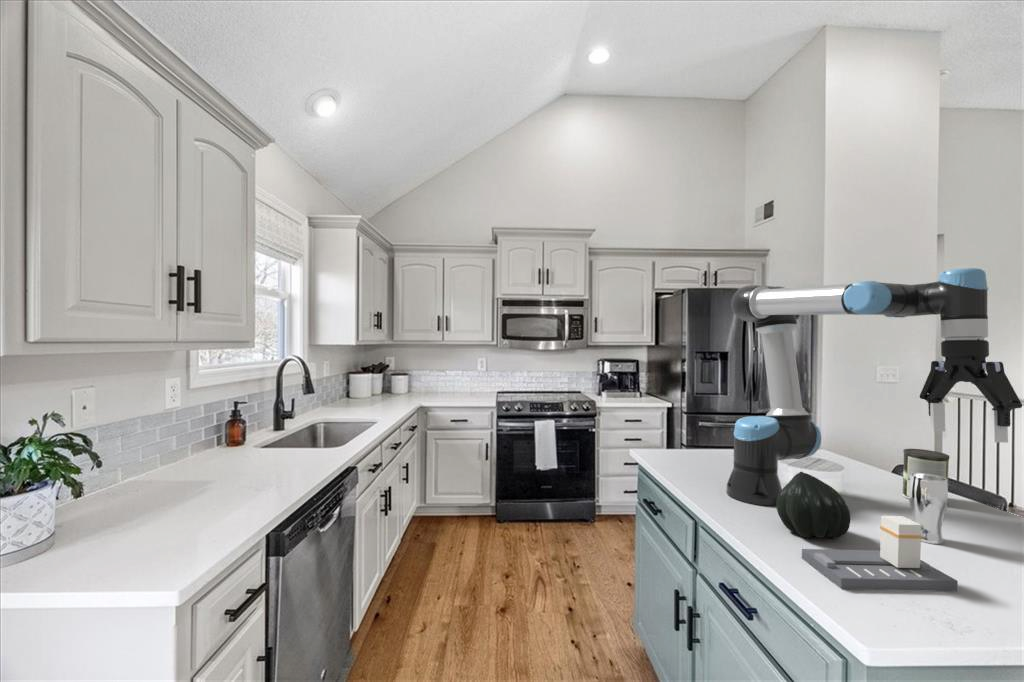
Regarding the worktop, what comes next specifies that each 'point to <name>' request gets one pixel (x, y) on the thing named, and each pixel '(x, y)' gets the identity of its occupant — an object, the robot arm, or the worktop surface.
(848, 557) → the panel
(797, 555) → the worktop surface
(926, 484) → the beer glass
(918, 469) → the coffee can
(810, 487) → the squash
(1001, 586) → the worktop surface
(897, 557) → the fader knob
